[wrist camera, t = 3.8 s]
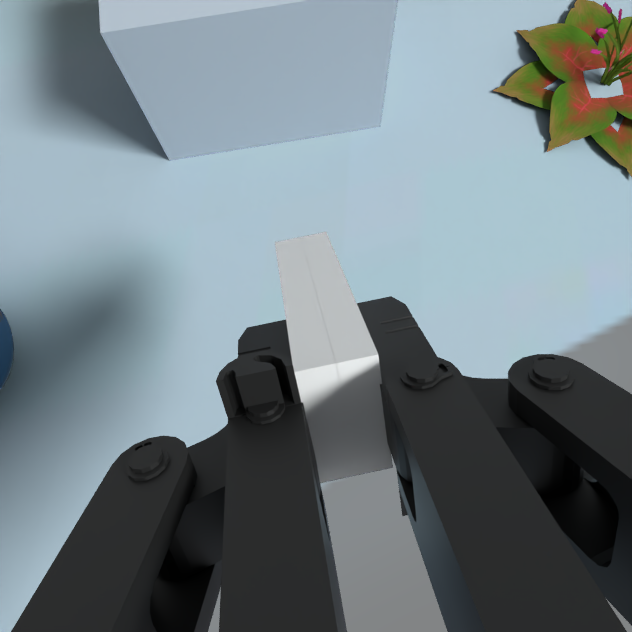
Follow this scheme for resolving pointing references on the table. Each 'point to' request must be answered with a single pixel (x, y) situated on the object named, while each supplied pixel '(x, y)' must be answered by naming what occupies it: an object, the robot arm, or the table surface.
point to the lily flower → (581, 78)
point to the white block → (251, 68)
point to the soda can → (5, 349)
